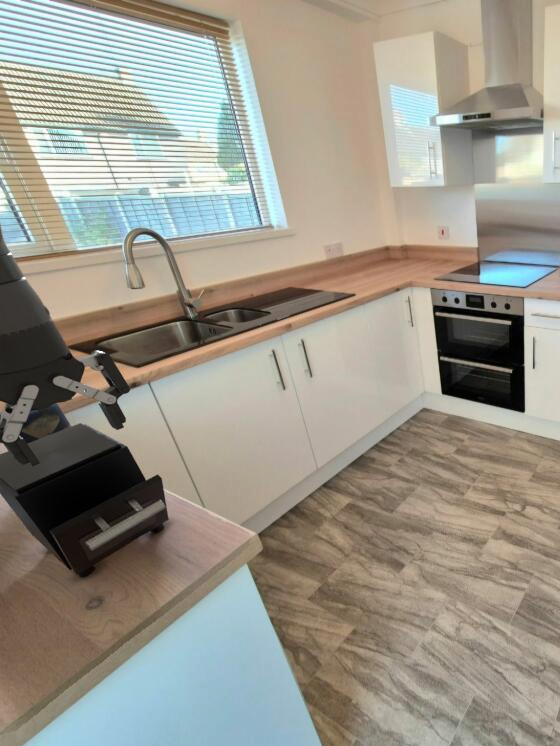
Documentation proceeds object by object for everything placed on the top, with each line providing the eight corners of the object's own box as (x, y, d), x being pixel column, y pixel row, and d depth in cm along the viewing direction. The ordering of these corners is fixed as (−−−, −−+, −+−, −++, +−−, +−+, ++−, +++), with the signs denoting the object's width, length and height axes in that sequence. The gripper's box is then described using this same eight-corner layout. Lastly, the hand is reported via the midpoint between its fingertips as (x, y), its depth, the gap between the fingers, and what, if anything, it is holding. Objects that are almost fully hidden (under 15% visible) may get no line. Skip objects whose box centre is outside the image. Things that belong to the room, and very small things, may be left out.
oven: (172, 527, 76) (125, 443, 68) (80, 584, 66) (12, 493, 58) (130, 500, 83) (83, 421, 75) (41, 547, 73) (-24, 462, 65)
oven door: (183, 534, 74) (178, 494, 65) (92, 592, 64) (72, 555, 55) (165, 515, 74) (157, 474, 65) (72, 570, 64) (49, 530, 56)
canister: (49, 498, 85) (-6, 421, 77) (27, 486, 89) (-27, 412, 80) (106, 469, 92) (62, 397, 84) (83, 460, 96) (39, 389, 88)
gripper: (71, 303, 55) (129, 412, 62) (-106, 342, 44) (-10, 468, 51) (97, 309, 51) (155, 423, 59) (-89, 352, 40) (11, 486, 48)
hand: (78, 444), depth 55 cm, fingers open, 8 cm apart
